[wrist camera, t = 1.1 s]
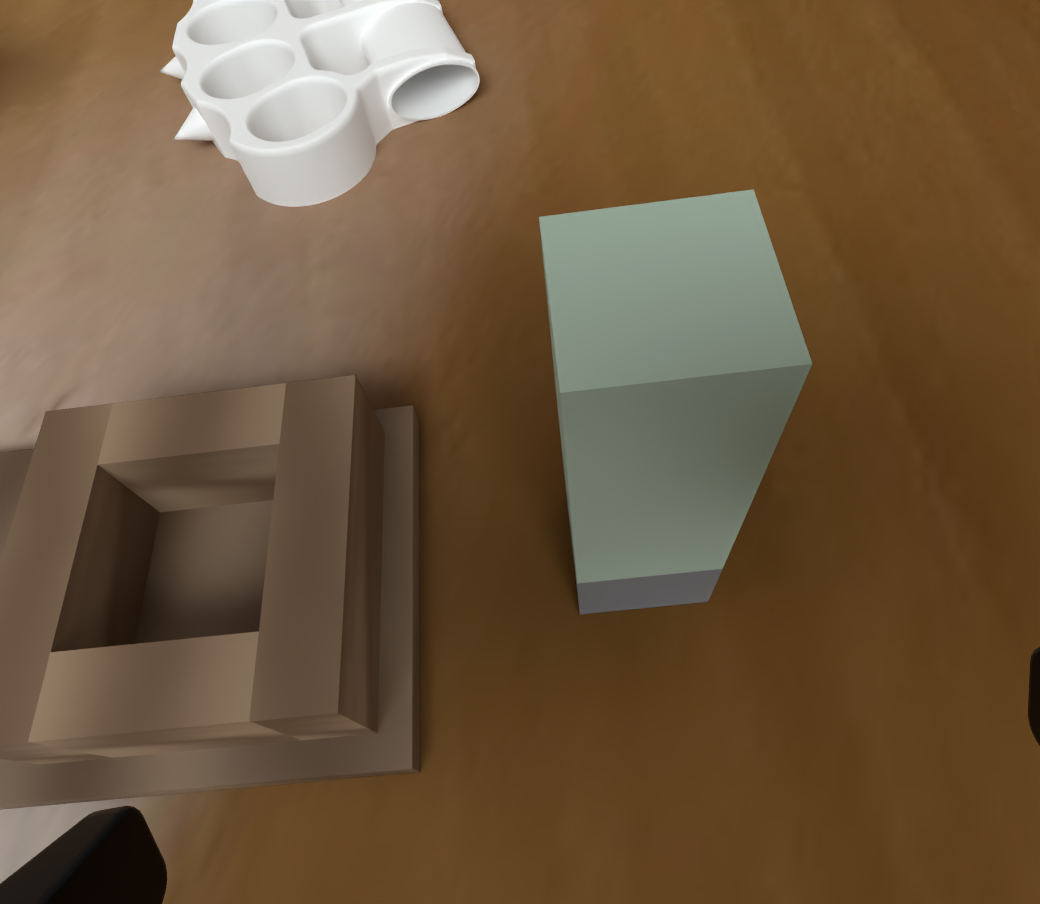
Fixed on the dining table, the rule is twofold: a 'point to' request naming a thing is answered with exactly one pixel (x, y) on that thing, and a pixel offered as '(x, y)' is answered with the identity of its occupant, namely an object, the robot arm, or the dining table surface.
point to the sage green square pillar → (666, 388)
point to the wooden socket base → (210, 595)
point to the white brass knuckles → (314, 85)
